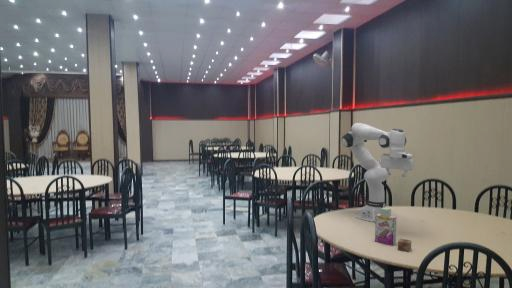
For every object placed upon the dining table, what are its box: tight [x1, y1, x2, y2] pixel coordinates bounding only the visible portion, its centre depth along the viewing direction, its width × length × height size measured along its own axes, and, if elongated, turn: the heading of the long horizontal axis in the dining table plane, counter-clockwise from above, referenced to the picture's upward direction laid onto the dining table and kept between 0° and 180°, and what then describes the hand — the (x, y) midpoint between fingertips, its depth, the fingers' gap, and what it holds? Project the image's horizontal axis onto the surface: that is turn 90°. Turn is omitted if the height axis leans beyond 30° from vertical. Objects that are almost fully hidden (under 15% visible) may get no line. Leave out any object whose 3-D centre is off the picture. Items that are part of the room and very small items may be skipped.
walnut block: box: [397, 238, 412, 253], centre depth 198 cm, size 6×6×5 cm
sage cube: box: [380, 206, 392, 217], centre depth 209 cm, size 4×4×4 cm
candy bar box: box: [374, 214, 397, 246], centre depth 209 cm, size 11×5×16 cm, turn 48°
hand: (396, 176), depth 220 cm, fingers open, 8 cm apart
